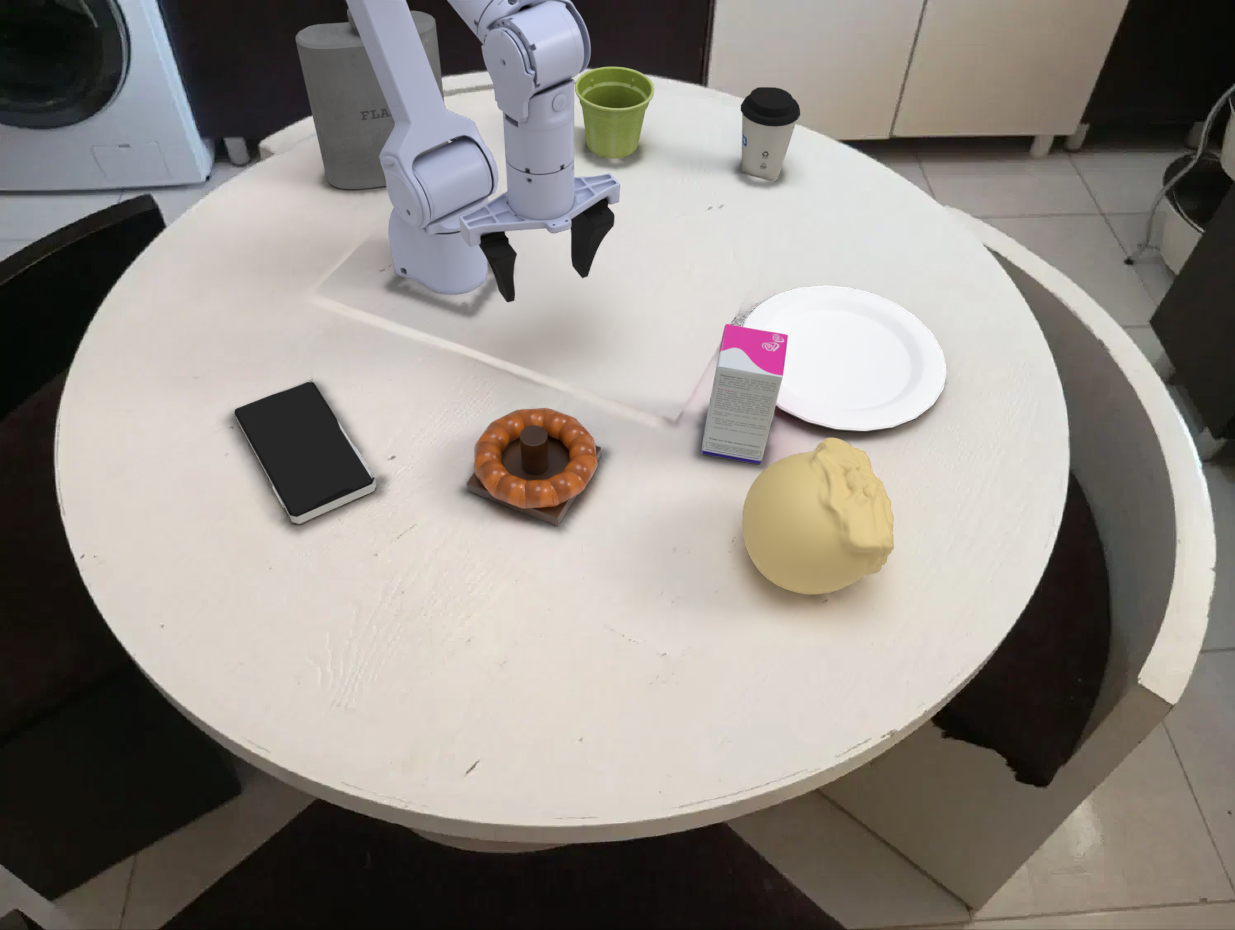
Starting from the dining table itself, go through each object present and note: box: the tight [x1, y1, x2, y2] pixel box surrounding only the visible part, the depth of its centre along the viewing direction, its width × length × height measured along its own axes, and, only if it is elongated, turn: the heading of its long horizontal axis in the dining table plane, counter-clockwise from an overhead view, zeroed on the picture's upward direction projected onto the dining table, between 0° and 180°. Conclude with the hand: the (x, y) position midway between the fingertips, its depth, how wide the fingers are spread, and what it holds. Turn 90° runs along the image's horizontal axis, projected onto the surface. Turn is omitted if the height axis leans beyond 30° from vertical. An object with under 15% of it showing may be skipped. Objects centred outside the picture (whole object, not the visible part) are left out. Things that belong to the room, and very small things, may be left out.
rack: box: [466, 425, 602, 527], centre depth 88 cm, size 9×9×5 cm
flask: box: [295, 7, 450, 190], centre depth 111 cm, size 15×6×20 cm, turn 112°
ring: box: [473, 407, 598, 509], centre depth 88 cm, size 11×11×2 cm
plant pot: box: [574, 66, 655, 159], centre depth 120 cm, size 9×9×9 cm
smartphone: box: [234, 380, 377, 525], centre depth 90 cm, size 8×1×15 cm
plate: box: [741, 284, 948, 433], centre depth 100 cm, size 21×21×2 cm
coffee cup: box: [740, 86, 801, 183], centre depth 117 cm, size 7×7×10 cm
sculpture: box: [741, 437, 895, 595], centre depth 81 cm, size 11×12×11 cm
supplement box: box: [700, 323, 788, 465], centre depth 89 cm, size 6×6×12 cm
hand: (543, 283), depth 92 cm, fingers open, 7 cm apart
